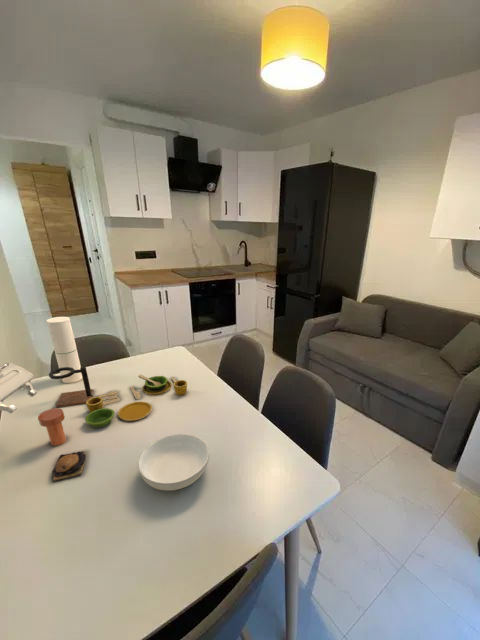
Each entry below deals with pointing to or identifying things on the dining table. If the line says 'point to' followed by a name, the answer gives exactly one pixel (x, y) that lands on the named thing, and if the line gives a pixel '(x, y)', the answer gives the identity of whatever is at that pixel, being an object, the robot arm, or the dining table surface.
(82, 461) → the open sandwich
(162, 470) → the serving bowl
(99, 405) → the tableware set
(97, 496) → the dining table surface
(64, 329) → the container
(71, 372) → the cup holder
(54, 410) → the orange wooden peg
